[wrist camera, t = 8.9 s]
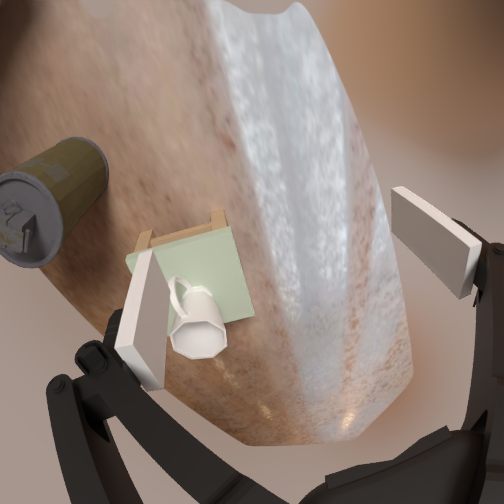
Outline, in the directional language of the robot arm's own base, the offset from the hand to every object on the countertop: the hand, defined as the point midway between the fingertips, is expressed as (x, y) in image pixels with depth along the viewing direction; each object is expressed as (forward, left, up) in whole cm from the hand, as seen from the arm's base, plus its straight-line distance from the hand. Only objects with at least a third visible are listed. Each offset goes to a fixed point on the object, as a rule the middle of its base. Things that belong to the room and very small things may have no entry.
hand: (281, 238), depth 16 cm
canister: (-3, -23, -29) cm, 37 cm away
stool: (+16, -10, -29) cm, 34 cm away
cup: (+16, -10, -20) cm, 28 cm away
